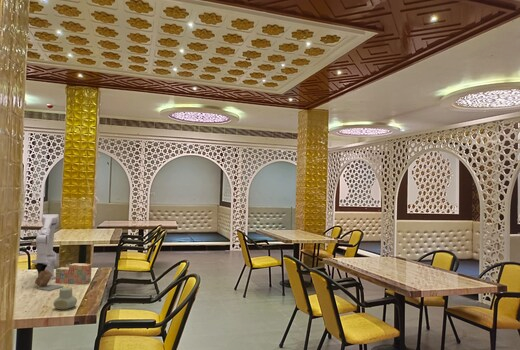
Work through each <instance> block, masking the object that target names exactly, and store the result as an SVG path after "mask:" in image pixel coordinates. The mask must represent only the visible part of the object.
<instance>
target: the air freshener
mask: <svg viewBox="0 0 520 350" xmlns="http://www.w3.org/2000/svg"><path fill="white" fill-rule="evenodd" d="M58 295H59V296H58V297H57V298H55V300H54V301H53V306H54V308H56V309H58V310H60V311H62V310H63V311H65V310H69V309H72V308H73V307H74V306H77V303H78V300H77V297H75V296H74V295H73V288H72V287H62V288H59V293H58Z"/></svg>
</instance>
